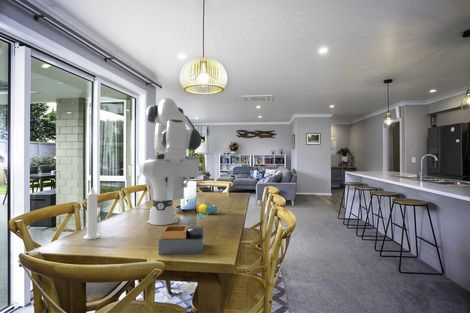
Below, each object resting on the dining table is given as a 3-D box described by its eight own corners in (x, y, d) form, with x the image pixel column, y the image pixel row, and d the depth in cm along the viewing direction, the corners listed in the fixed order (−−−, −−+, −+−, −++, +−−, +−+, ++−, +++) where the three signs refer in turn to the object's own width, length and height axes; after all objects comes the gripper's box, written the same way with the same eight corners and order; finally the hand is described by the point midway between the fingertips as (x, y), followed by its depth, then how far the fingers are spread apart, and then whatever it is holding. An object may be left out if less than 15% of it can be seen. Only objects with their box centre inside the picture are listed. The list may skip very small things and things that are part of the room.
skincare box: (177, 198, 116) (178, 171, 116) (184, 199, 113) (184, 172, 113) (166, 199, 111) (167, 172, 111) (172, 200, 108) (173, 172, 108)
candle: (85, 236, 129) (85, 186, 129) (100, 234, 132) (101, 186, 132) (82, 240, 123) (82, 188, 123) (98, 238, 125) (99, 187, 125)
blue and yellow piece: (202, 199, 198) (221, 200, 195) (201, 210, 198) (220, 211, 195) (190, 205, 170) (212, 207, 168) (190, 218, 170) (212, 220, 168)
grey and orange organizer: (164, 244, 117) (164, 225, 117) (203, 244, 119) (203, 224, 119) (158, 254, 105) (158, 232, 105) (202, 253, 107) (202, 232, 107)
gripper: (200, 156, 116) (200, 186, 116) (154, 155, 114) (154, 186, 114) (199, 156, 110) (199, 188, 110) (150, 155, 108) (150, 188, 108)
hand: (175, 187), depth 112 cm, fingers closed on skincare box, 7 cm apart
